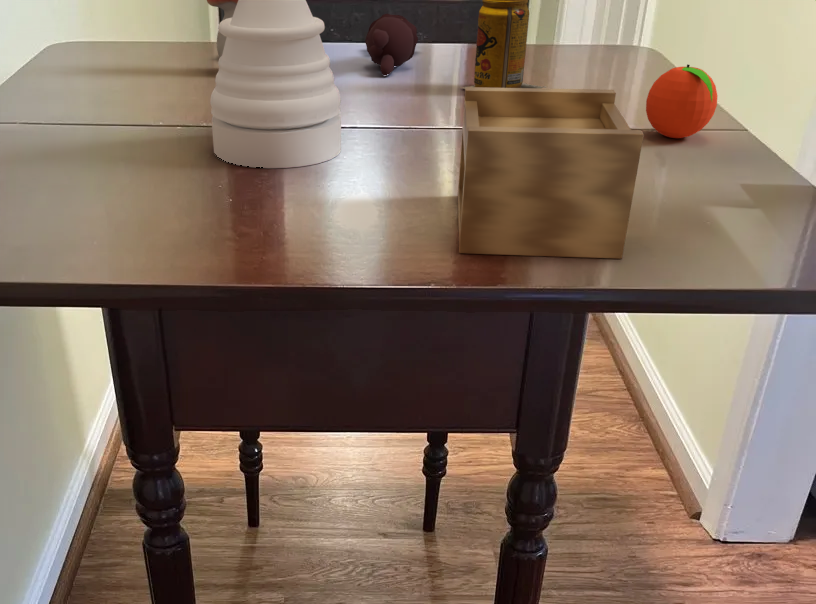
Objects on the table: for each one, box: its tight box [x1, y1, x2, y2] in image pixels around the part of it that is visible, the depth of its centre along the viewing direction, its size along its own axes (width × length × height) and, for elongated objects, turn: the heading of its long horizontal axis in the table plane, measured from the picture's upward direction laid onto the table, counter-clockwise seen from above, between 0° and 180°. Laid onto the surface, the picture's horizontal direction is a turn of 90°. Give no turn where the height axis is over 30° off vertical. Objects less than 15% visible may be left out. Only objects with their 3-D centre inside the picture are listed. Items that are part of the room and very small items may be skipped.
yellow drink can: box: [459, 0, 547, 90], centre depth 113 cm, size 7×8×12 cm
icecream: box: [364, 13, 419, 76], centre depth 126 cm, size 7×7×15 cm
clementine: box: [645, 64, 718, 139], centre depth 94 cm, size 8×7×7 cm
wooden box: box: [457, 86, 645, 260], centre depth 72 cm, size 12×14×9 cm
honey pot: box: [209, 0, 342, 169], centre depth 88 cm, size 13×13×18 cm
